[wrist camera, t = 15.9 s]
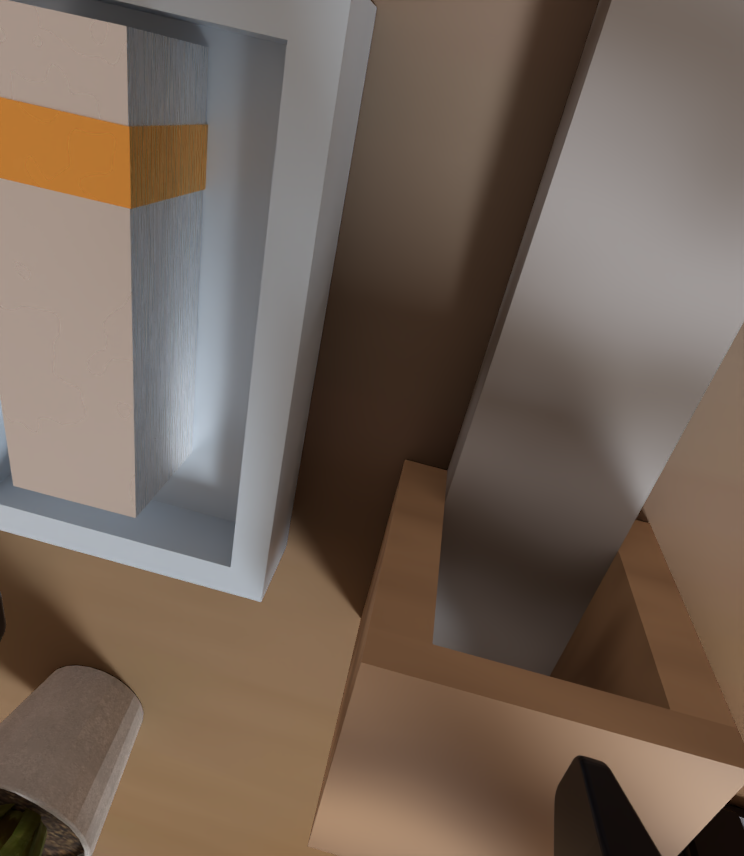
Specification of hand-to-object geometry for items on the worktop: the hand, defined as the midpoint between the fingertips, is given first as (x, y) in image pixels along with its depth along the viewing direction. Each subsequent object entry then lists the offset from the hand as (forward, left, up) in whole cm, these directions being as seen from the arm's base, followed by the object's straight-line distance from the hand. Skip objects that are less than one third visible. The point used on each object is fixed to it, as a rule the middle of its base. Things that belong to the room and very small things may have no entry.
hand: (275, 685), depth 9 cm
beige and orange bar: (+2, +8, -11) cm, 13 cm away
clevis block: (+2, -6, -11) cm, 13 cm away
